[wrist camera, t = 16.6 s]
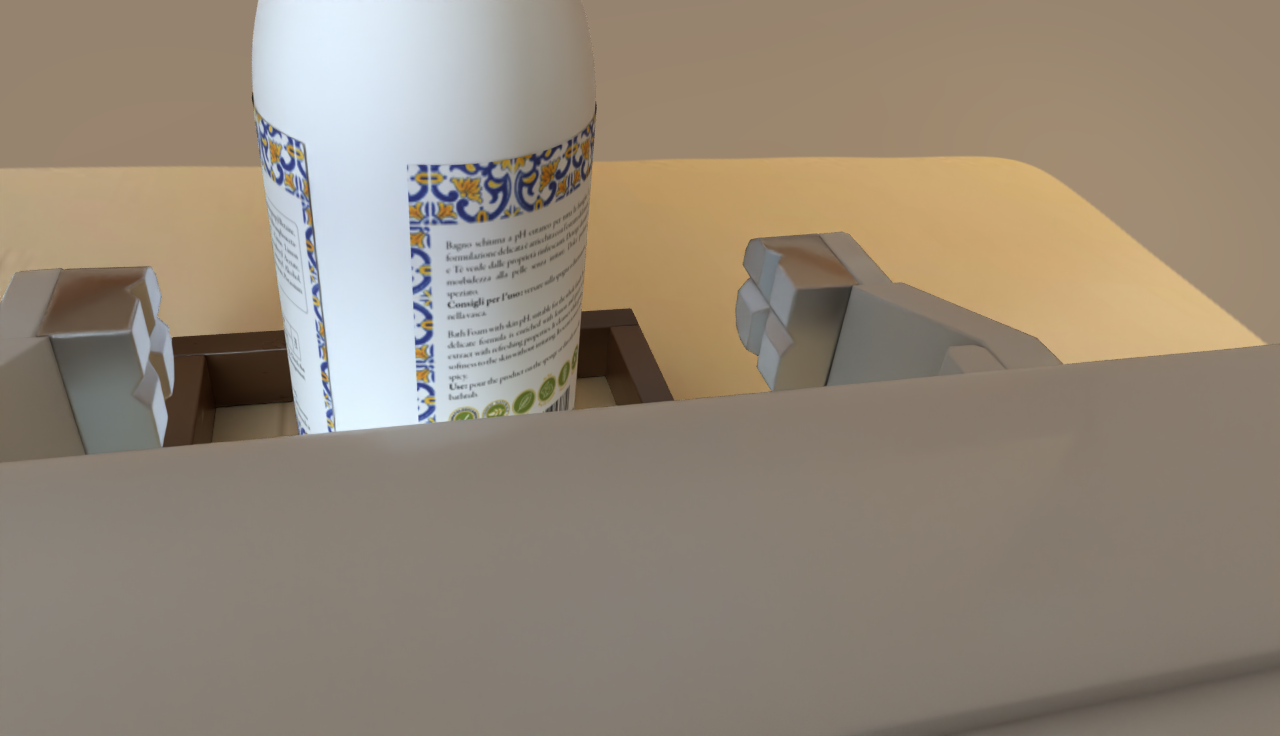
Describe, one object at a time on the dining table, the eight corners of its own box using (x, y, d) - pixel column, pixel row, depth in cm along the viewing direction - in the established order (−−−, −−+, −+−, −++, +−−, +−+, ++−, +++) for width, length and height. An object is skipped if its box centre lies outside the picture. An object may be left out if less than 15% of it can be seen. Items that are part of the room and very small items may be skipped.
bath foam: (597, 450, 29) (677, -386, 18) (515, 625, 24) (551, -425, 12) (384, 397, 30) (327, -426, 19) (258, 552, 25) (65, -478, 13)
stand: (760, 668, 23) (774, 613, 22) (118, 778, 20) (96, 719, 19) (626, 356, 33) (631, 307, 32) (183, 390, 30) (171, 336, 29)
